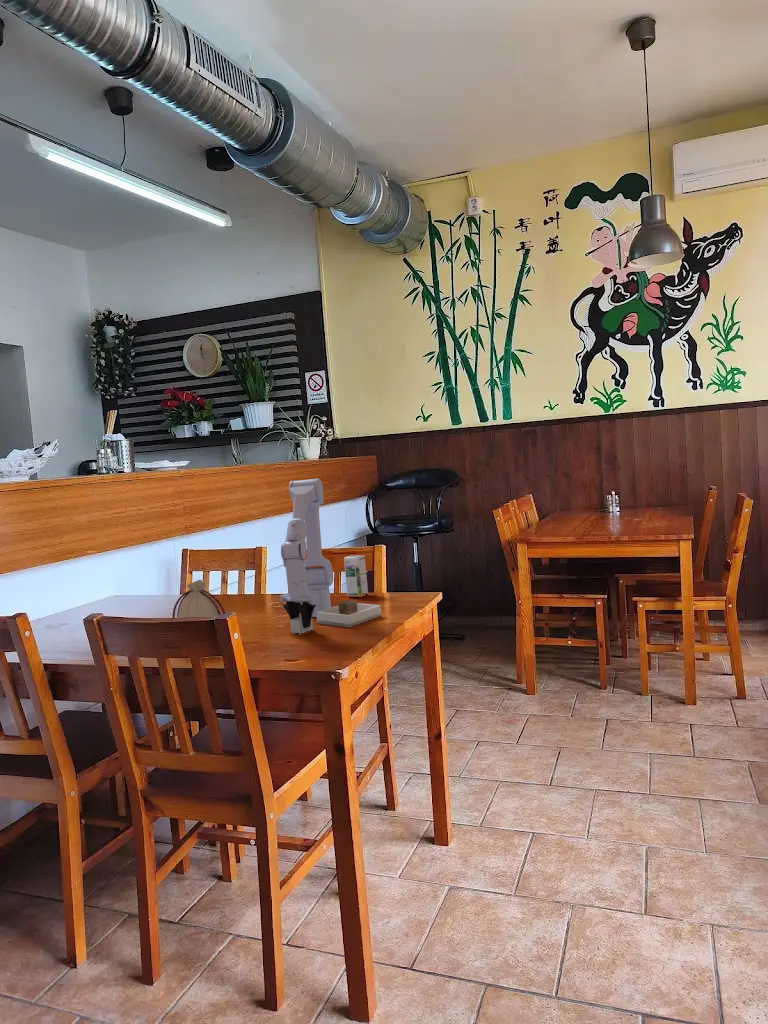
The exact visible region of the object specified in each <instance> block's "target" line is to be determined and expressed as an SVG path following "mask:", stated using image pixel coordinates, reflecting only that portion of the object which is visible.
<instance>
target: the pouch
mask: <svg viewBox="0 0 768 1024" xmlns="http://www.w3.org/2000/svg"><path fill="white" fill-rule="evenodd" d="M206 586H207V583H205V582H204V581H203V580H202V579H199V580H196V581H193V582H191V583H188V584H186V585H185V587H186V588H187V589H188V590H187V591H185V592H184V593H182V595H180V596H179V597H178V599H177V600H176V602H175V604H174V606H173V609H172V618H177V617H216V616H219V615H221V616H222V615H224V614H225V613H226V611H225V608H224V606H223V604H222V603H221V602H220V601H219V600H218V598H217V597H215V596H214V595H213V594H212V593H210V592H209V591H207V590H205V588H206ZM178 604H179V605H178ZM217 604H218V605H217ZM177 607H178V608H177ZM219 608H220V609H221V611H222V614H221V611H220V609H219ZM176 609H177V613H176ZM176 614H177V615H176ZM175 615H176V616H175Z"/></svg>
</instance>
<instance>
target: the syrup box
mask: <svg viewBox="0 0 768 1024" xmlns="http://www.w3.org/2000/svg"><path fill="white" fill-rule="evenodd" d="M343 564H344V573H345V575H344V576H345V582H346V585H345V586H346V595H347V596H354V595H355V596H359V595H362V593H368V594H369V589H368V580H367V579H368V577H367V568H366V558H365V555H348V556H344V558H343ZM351 594H352V595H351Z"/></svg>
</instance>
